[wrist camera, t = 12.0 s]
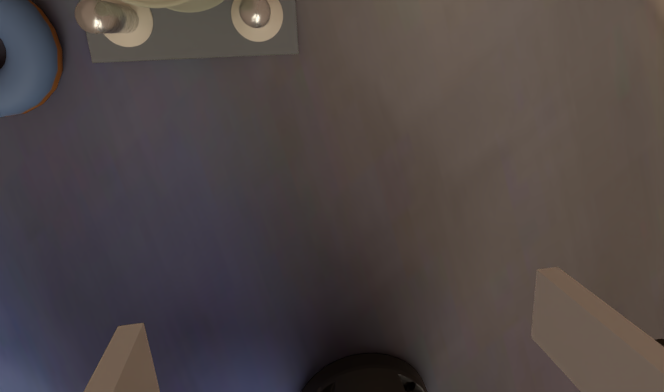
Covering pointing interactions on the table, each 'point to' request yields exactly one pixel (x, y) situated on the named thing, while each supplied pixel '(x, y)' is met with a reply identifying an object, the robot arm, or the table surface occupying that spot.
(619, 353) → the robot arm
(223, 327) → the table surface
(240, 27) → the board
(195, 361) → the table surface
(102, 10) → the pins
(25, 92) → the doughnut
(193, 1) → the can
